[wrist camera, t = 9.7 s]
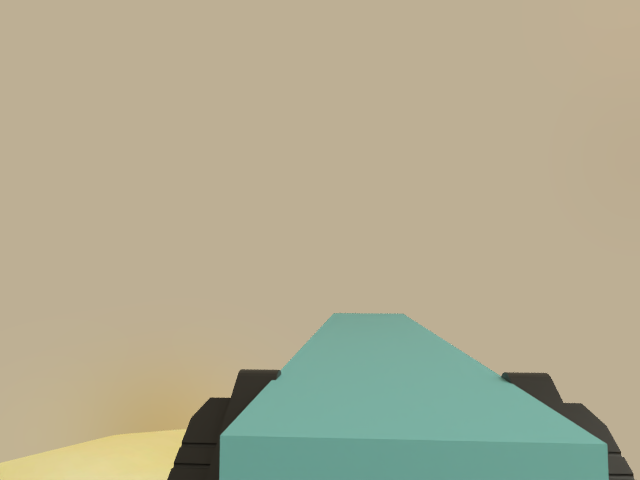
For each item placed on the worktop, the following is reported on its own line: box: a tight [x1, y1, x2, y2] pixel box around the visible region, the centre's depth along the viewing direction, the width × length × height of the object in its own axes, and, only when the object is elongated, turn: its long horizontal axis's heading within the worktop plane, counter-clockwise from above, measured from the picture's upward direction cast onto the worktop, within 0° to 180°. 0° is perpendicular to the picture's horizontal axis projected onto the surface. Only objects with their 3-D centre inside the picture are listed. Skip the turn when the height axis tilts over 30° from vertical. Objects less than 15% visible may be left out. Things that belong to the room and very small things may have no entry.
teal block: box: [219, 313, 609, 480], centre depth 18 cm, size 26×4×4 cm, turn 176°
